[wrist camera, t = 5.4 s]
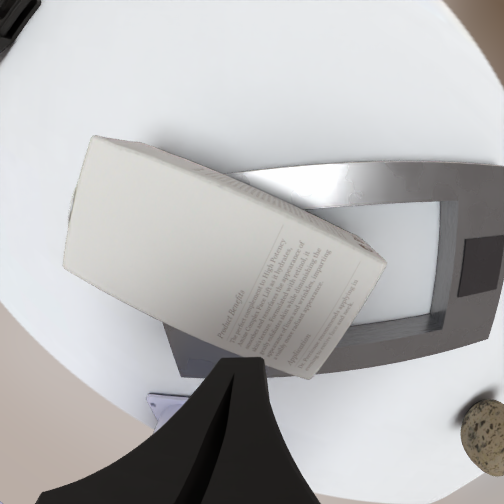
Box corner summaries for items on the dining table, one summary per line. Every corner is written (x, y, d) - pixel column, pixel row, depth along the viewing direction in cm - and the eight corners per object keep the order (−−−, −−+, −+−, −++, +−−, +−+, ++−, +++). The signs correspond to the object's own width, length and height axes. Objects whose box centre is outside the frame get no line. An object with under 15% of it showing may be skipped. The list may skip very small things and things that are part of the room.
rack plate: (475, 325, 16) (488, 339, 14) (189, 358, 19) (180, 378, 17) (494, 164, 13) (514, 167, 11) (147, 186, 15) (130, 191, 13)
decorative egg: (443, 429, 20) (469, 498, 11) (467, 392, 19) (506, 466, 9) (479, 418, 20) (508, 478, 11) (503, 382, 18) (542, 443, 9)
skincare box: (362, 237, 13) (142, 136, 13) (396, 267, 9) (91, 126, 9) (303, 337, 15) (107, 242, 15) (309, 392, 11) (56, 266, 10)
